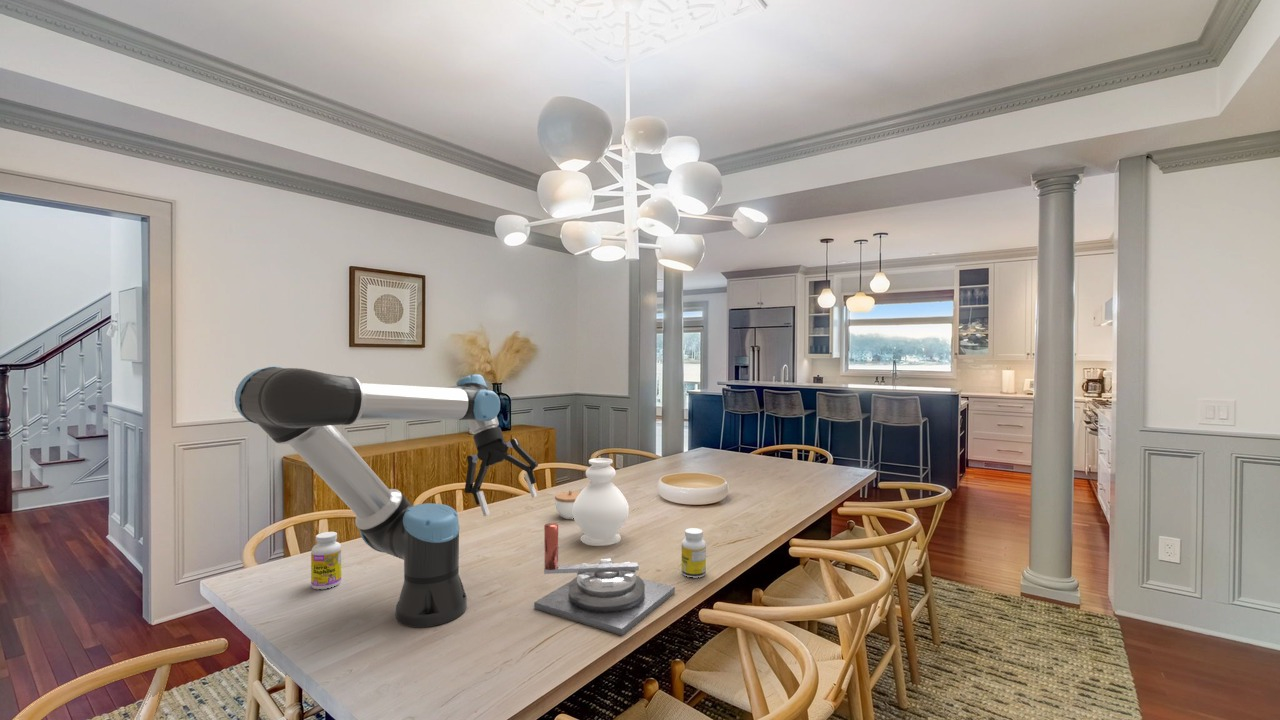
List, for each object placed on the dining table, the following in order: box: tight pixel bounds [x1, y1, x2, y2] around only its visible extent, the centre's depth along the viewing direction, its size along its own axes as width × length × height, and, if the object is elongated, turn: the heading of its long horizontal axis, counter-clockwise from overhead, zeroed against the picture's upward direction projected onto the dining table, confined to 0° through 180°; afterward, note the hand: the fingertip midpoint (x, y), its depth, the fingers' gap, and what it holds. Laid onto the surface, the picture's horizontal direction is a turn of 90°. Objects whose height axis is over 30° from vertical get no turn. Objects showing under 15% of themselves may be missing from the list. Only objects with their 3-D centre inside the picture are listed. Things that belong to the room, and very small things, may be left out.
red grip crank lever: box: [543, 522, 639, 597], centre depth 132 cm, size 22×14×14 cm, turn 95°
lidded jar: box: [554, 490, 581, 520], centre depth 200 cm, size 11×11×9 cm
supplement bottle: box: [310, 531, 342, 590], centre depth 141 cm, size 7×7×13 cm
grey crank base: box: [533, 575, 676, 637], centre depth 132 cm, size 24×24×4 cm
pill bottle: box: [681, 527, 707, 579], centre depth 148 cm, size 6×6×12 cm
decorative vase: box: [572, 457, 630, 547], centre depth 176 cm, size 18×18×25 cm
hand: (510, 506), depth 147 cm, fingers open, 13 cm apart
